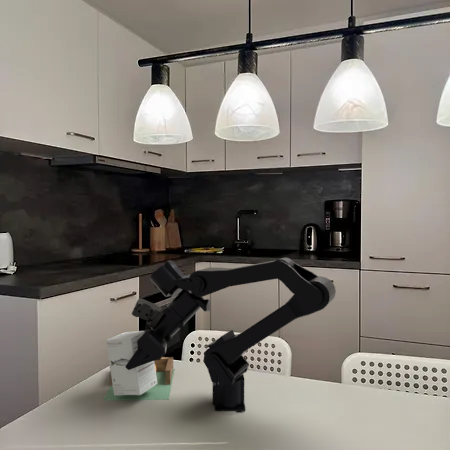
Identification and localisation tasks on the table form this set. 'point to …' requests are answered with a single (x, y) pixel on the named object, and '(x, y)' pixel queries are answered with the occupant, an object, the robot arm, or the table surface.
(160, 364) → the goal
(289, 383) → the table surface
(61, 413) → the table surface
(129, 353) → the supplement box
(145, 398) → the pitch mat
